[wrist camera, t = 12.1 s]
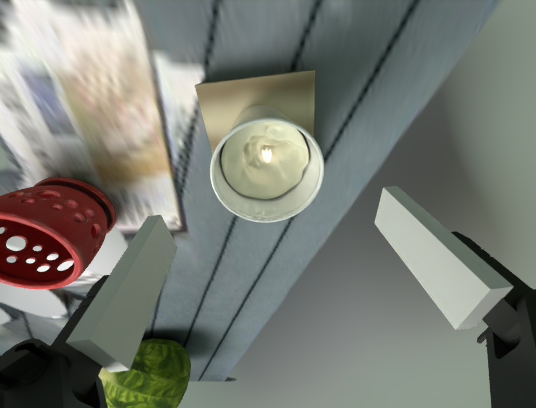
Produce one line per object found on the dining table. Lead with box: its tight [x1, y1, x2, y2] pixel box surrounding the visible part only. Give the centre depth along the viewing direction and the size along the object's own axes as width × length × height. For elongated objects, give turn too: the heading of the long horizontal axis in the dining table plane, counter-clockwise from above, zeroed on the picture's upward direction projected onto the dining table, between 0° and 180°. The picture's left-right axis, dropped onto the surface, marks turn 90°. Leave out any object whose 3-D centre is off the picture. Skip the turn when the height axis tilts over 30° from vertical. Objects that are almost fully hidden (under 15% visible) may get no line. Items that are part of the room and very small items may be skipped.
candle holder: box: [210, 105, 324, 222], centre depth 23 cm, size 10×10×12 cm
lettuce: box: [98, 339, 191, 408], centre depth 55 cm, size 19×23×18 cm
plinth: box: [195, 70, 315, 153], centre depth 29 cm, size 14×14×3 cm
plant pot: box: [0, 177, 116, 289], centre depth 30 cm, size 13×13×12 cm
